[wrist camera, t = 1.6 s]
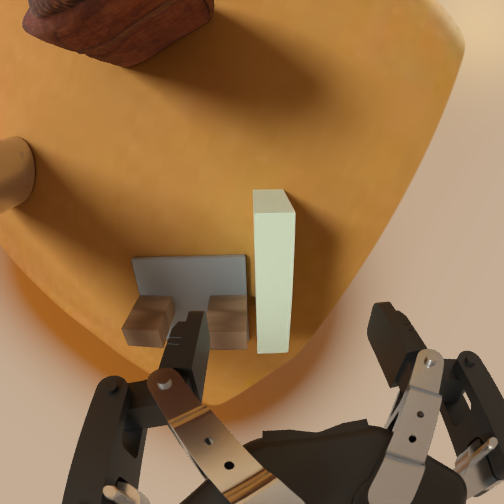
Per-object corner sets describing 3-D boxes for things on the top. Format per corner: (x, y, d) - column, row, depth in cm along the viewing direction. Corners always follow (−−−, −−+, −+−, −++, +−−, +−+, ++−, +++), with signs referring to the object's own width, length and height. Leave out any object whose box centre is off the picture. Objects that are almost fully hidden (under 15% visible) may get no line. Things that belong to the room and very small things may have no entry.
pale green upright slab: (255, 306, 33) (257, 353, 26) (252, 189, 27) (254, 213, 20) (280, 305, 33) (288, 352, 26) (283, 189, 27) (295, 212, 20)
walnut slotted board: (144, 310, 33) (127, 345, 27) (139, 295, 32) (121, 328, 26) (247, 311, 33) (247, 349, 27) (246, 294, 32) (246, 331, 26)
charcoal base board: (154, 336, 35) (152, 339, 35) (133, 257, 30) (131, 259, 30) (248, 337, 35) (248, 340, 35) (245, 254, 30) (245, 256, 30)
